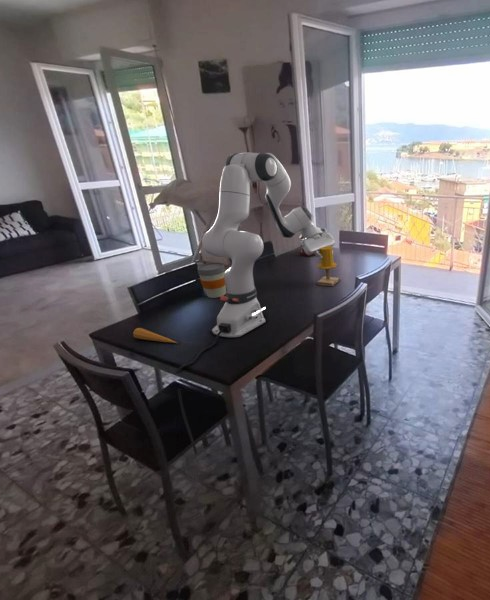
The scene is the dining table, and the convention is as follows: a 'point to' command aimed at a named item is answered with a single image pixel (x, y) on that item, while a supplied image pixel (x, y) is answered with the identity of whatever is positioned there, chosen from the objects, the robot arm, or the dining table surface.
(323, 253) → the hat
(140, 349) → the dining table surface
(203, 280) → the reusable coffee cup
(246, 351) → the dining table surface
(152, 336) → the carrot
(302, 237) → the kitchen canister
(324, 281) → the hat peg
